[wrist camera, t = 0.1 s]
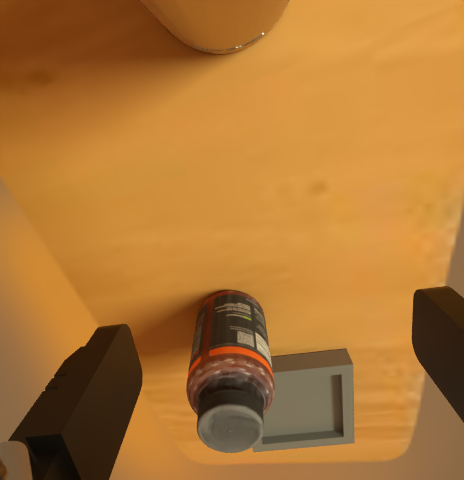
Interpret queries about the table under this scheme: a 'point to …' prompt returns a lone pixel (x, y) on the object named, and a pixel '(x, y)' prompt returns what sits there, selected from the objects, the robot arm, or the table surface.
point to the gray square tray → (310, 402)
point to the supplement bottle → (230, 372)
